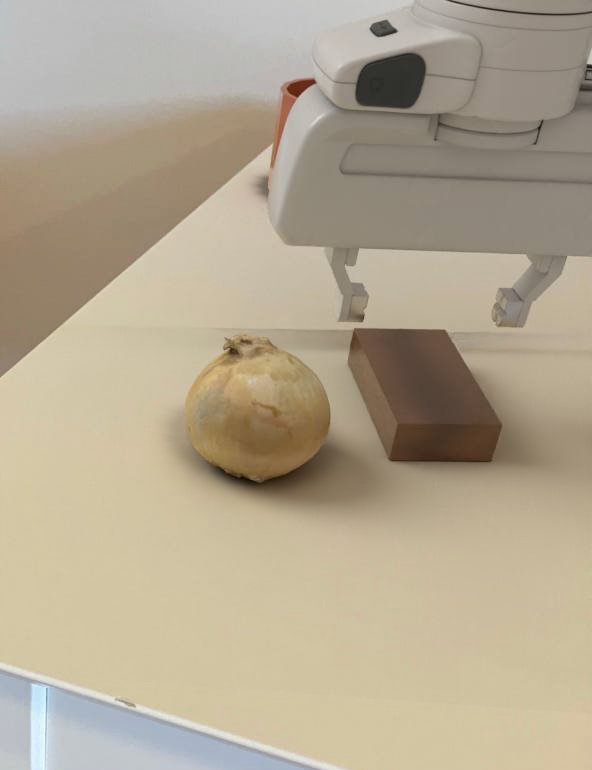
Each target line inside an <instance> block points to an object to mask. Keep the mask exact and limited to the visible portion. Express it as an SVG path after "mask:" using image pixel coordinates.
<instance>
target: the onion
mask: <svg viewBox="0 0 592 770" xmlns="http://www.w3.org/2000/svg"><path fill="white" fill-rule="evenodd" d="M223 340H225V343H224V344H223V346H222V349H223V351H222V353H219V354H218V355H217V357H215V358H214V359H213V360H211V361H210V362H209V363H208V364H207V365H206V366H205V367H204V368H203V369H202V371H200V373H199V375H198V376H197V377H196V379H194V382H193V383H192V385H191V387H190V388H189V390H188V392H187V395H186V398H185V402H184V411H183V412H184V414H183V416H184V426H185V430H186V433H187V436H188V438H189V440H190V442H191V444H192V446H193V448H194V449H195V451H196V452H197V453H198V454H199V456H200V457H201V458H202V459H204V460H205V461H207V462H208V463H210V464H212V465H213V466H214V467H219V468H220V469H222V470H223V471H224V472H225V474H230V475H232V476H235V477H236V478H241V477H242V478H243V477H244V478H246V479H248V480H251V481H253V482H256V483H257V484H259V483H260V484H261V483H264V482H265V481H268V480H269V479H270V480H272V479H275V478H279V477H280V476H285V475H287V474H288V473H291V472H293V471H294V470H297V469H298V468H300V467H301V466H303V465H304V464H305V463H307V462H308V461H309V460H310V459H312V458H313V457H314V456H315V455H316V454H317V453H318V452H319V450H320V449H321V448H322V446H323V445H324V443H325V440H326V439H327V436H328V434H329V431H330V426H331V419H332V417H331V414H332V412H331V406H330V401H329V397H328V394H327V391H326V389H325V387H324V384H323V383H322V381H321V380H320V378H319V377H318V374H316V372H315V371H314V370H313V369H311V368H310V367H309V366H308V365H306V364H305V362H303V361H302V360H301V359H300V358H298V357H297V356H295V355H293V354H292V353H290V352H288V351H286V350H284V349H282V348H279V347H278V346H276V345H275V344H273V343H272V341H271V340H270V338H269V337H268V336H264V335H263V336H257V335H256V336H252V335H247V334H245V333H239V334H235V335H234V336H232V337H230V338H228V337H226V336H224V337H223Z"/></svg>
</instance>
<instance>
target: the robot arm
mask: <svg viewBox="0 0 592 770" xmlns="http://www.w3.org/2000/svg"><path fill="white" fill-rule="evenodd" d="M591 52H592V0H413V3H411V4H407V5H404V6H401V7H398V8H395V9H391V10H390V11H385V12H383V13H379V14H376V15H372V16H369V17H366V18H363V19H359V20H355V21H353V22H348V23H344V24H341V25H338V26H334V27H332V28H328V29H325V30H324V31H322V32H320V33H319V34H318V35H317V36H316V37H315V39H314V41H313V44H312V48H311V52H310V54H311V55H310V67H311V73H312V76H313V78H314V79H315V81H316V84H314V85H312V86H310V87H309V88H307V89H306V90H305V91H304V92H303V93H302V94H301V95H300V96H299V97H298V99H297V100H296V101H295V103H294V105H293V107H292V108H291V111H290V113H289V115H288V118H287V121H286V123H285V127H284V130H283V133H282V137H281V140H280V144H279V148H278V152H277V156H276V160H275V164H274V168H273V173H272V178H271V183H270V189H268V197H267V207H266V208H267V209H266V210H267V217H268V220H269V223H270V225H271V227H272V229H273V231H274V232H275V234H276V235H277V237H278V238H279V240H281V242H282V243H283V244H284V245H286V246H290V247H307V248H308V247H309V248H323V253H324V255H325V257H326V260H327V263H328V265H329V268H330V270H331V271H330V272H331V273H332V276H333V278H334V281H335V283H336V289H335V290H336V291H335V294H334V299H333V307H332V311H333V313H332V314H333V316H334V319H335V322H337V323H363V322H364V320H365V317H366V313H365V311H364V310H366V308H367V307H368V302H369V297H370V295H369V294H368V291H367V290H365V289H366V287H365V286H364V283H363V282H352V281H351V279H350V277H349V274H348V271H347V269H346V266H347V267H354V266H355V265H357V259H358V255H359V251H360V249H361V250H362V249H364V250H365V249H367V250H391V251H393V250H395V251H418V252H442V253H443V252H447V253H471V254H472V253H474V254H500V255H501V254H503V255H526V258H527V259H528V260H529V262H530V263H531V264H530V265H529V266H528V267H527V268H526V270H525V271H524V272H523V273H522V275H521V276H520V277H519V278H518V279H517V281H516V282H515V283H514V284H513V285H512V287H498V288H497V291H496V295H495V297H494V298H495V301H496V302H495V303H494V304H493V305H492V309H491V315H490V316H491V320H492V322H495V326H496V327H497V328H511V329H512V328H515V329H517V328H518V329H522V328H524V327H525V326H526V323H527V320H528V318H529V317H528V316H529V313H530V311H531V307H532V304H533V302H536V300H538V298H540V297H541V295H543V293H545V292H546V291H547V289H549V287H550V286H552V285H553V283H554V282H556V281H557V279H558V278H559V277H560V276H562V274H563V271H564V269H565V265H566V262H567V259H568V257H584V258H585V257H586V258H592V63H588V61H589V59H590V55H591Z"/></svg>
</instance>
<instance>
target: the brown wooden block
mask: <svg viewBox="0 0 592 770" xmlns="http://www.w3.org/2000/svg"><path fill="white" fill-rule="evenodd" d="M346 362H347V364H348V367H349V369H350V371H351V375H352V376H353V379H354V381H355V383H356V386H357V388H358V390H359V393H360V395H361V397H362V400H363V401H364V404H365V407H366V410H367V411H368V413H369V415H370V418H371V420H372V423H373V425H374V427H375V430H376V432H377V435H378V437H379V439H380V441H381V444H382V447H383V448H384V452H385V453H386V455H387V457H388V460H389V461H426V462H428V461H429V462H430V461H434V462H435V461H436V462H492V460H493V458H494V454H495V451H496V448H497V445H498V441H499V438H500V435H501V432H502V429H503V424H502V422H501V420H500V418H499V417H498V415H497V413H496V412H495V410H494V408H493V407H492V405H491V403H490V401H489V400H488V398H487V397H486V395H485V394H484V391H483V390H482V388H481V387H480V385H479V383H478V382H477V380H476V378H475V377H474V375H473V373H472V372H471V370H470V368H469V367H468V365H467V363H466V361H465V360H464V359H463V357H462V355H461V354H460V351H459V350H458V348H457V347H456V345H455V343H454V342H453V340H452V338H451V337H450V335H449V333H448V332H447V330H446V329H440V328H439V329H438V328H437V329H435V328H434V329H433V328H432V329H431V328H377V327H376V328H373V327H372V328H370V327H353V329H352V335H351V340H350V344H349V351H348V356H347V360H346Z"/></svg>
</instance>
